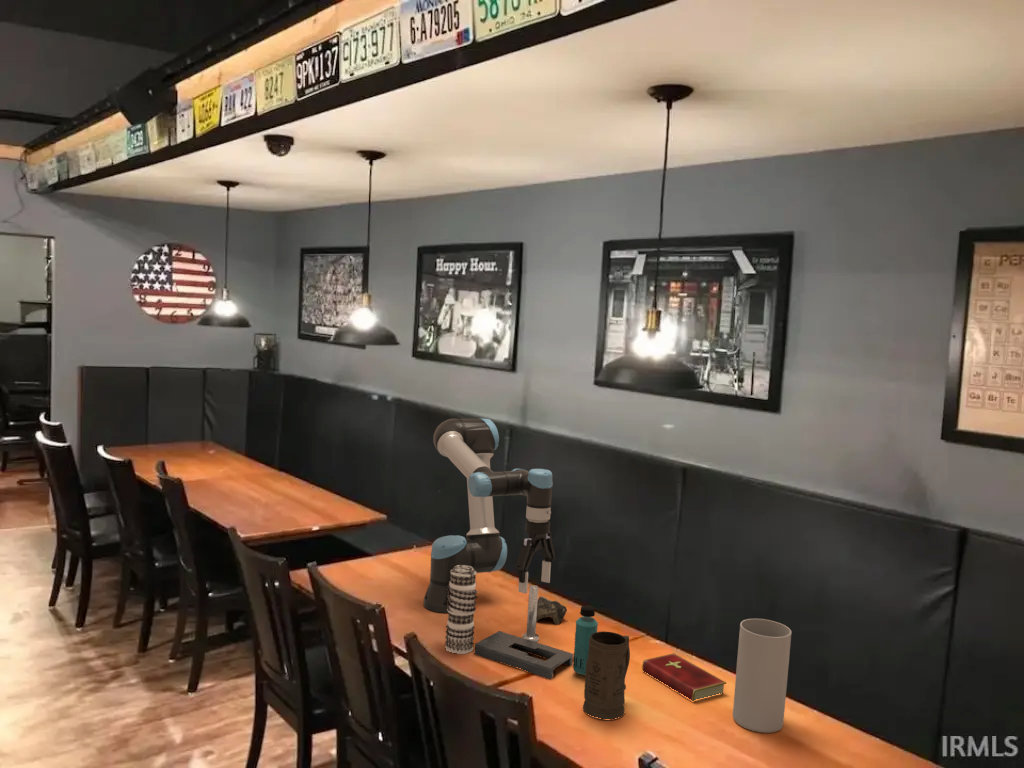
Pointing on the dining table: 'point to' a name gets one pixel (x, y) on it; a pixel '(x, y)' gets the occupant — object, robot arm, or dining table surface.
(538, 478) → the robot arm
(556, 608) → the fossil
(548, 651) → the keyhole plate
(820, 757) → the dining table surface
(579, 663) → the beverage bottle
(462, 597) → the decorative candle
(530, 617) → the steel peg
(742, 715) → the cylinder vase
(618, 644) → the beer stein
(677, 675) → the hardcover book
